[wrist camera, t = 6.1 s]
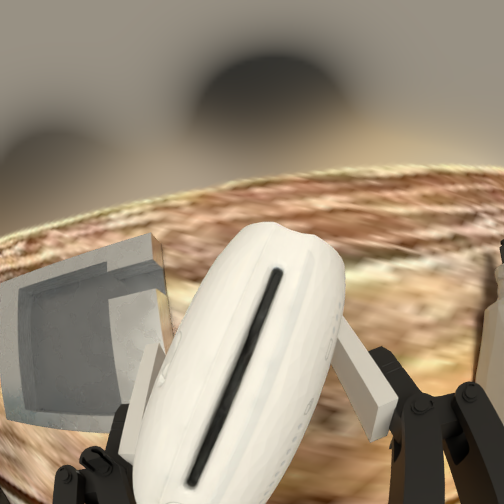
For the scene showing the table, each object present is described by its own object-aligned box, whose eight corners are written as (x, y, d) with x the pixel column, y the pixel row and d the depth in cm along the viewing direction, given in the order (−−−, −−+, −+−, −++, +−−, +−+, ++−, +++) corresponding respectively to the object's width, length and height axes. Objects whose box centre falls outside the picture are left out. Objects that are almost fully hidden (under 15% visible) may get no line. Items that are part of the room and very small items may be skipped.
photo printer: (258, 459, 14) (235, 585, 2) (196, 435, 15) (81, 513, 3) (315, 315, 17) (388, 215, 6) (253, 294, 18) (224, 167, 7)
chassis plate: (21, 419, 18) (6, 419, 16) (13, 290, 24) (0, 283, 22) (192, 425, 18) (182, 431, 16) (161, 244, 25) (150, 232, 23)
